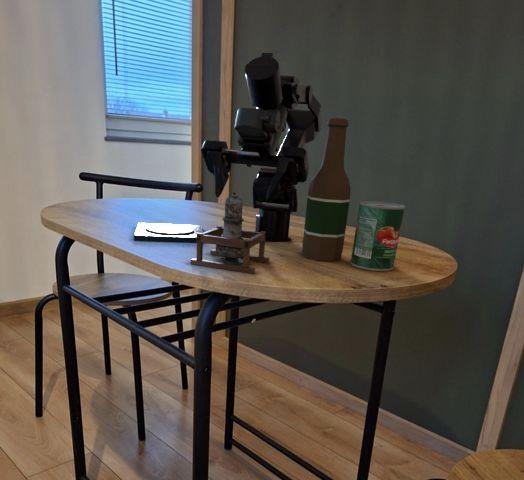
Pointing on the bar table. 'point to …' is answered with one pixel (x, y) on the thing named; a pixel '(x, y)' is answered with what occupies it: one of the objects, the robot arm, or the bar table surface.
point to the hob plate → (167, 232)
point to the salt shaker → (232, 231)
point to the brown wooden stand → (216, 238)
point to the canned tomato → (377, 235)
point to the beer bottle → (328, 199)
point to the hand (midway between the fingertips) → (241, 198)
